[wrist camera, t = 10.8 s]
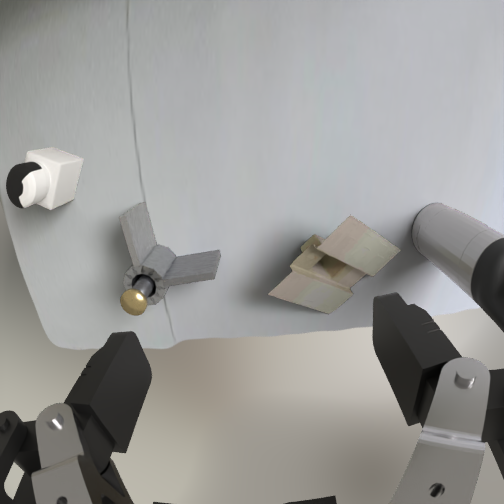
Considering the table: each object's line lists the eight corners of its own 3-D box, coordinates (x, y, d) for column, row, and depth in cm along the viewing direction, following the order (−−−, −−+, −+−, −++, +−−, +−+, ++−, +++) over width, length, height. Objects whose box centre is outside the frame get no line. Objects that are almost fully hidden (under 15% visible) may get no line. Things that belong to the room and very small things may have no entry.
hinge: (206, 188, 44) (195, 200, 37) (224, 270, 49) (218, 296, 41) (125, 206, 45) (102, 221, 38) (148, 282, 50) (131, 307, 42)
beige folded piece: (371, 210, 49) (330, 182, 38) (403, 249, 45) (373, 232, 33) (304, 274, 56) (248, 267, 45) (330, 314, 52) (277, 318, 40)
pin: (167, 251, 48) (140, 289, 36) (172, 271, 49) (149, 314, 37) (147, 254, 48) (116, 293, 36) (153, 274, 49) (125, 316, 37)
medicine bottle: (43, 186, 44) (-2, 203, 32) (52, 146, 41) (5, 154, 30) (74, 200, 45) (31, 221, 33) (85, 158, 42) (40, 169, 31)
